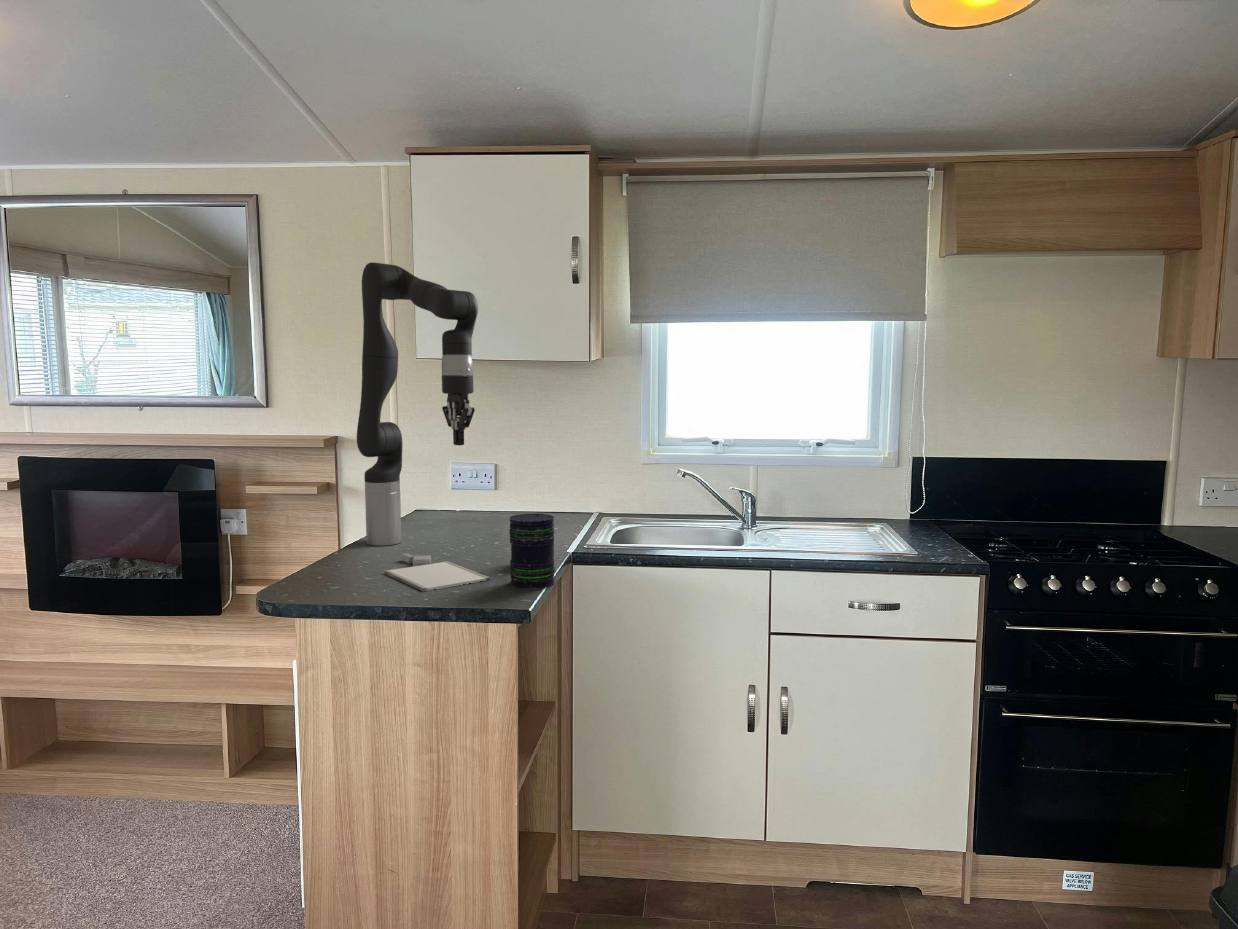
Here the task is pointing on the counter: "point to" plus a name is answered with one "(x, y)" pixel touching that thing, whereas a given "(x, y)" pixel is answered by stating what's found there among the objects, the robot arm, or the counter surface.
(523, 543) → the storage jar
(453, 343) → the robot arm
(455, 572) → the mat
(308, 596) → the counter surface
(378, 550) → the counter surface
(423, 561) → the lighter
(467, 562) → the counter surface
